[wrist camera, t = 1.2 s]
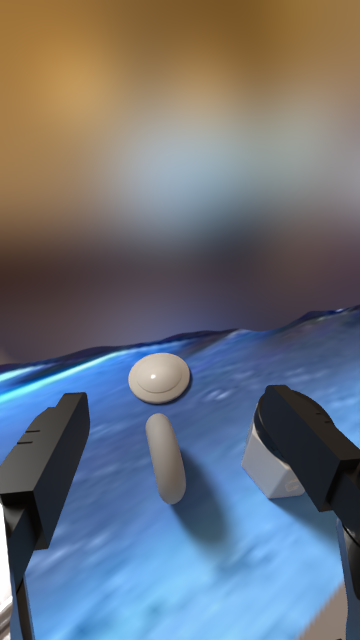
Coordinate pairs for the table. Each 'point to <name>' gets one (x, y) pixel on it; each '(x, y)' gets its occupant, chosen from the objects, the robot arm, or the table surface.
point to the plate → (159, 378)
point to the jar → (271, 458)
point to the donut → (166, 459)
